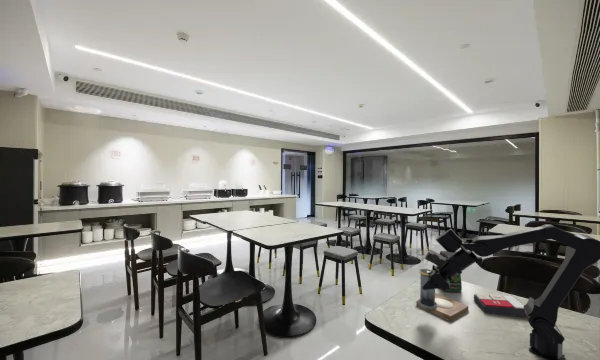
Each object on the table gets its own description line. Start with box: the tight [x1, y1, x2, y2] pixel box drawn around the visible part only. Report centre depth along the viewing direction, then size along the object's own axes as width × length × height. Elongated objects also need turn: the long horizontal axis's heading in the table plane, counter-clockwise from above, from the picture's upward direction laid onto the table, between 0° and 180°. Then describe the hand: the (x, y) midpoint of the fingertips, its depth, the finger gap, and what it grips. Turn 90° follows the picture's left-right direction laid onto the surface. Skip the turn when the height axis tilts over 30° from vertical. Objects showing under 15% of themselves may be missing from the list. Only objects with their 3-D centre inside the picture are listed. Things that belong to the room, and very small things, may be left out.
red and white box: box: [473, 293, 527, 319], centre depth 106 cm, size 11×4×15 cm
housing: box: [417, 268, 437, 310], centre depth 96 cm, size 6×6×13 cm
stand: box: [415, 292, 469, 322], centre depth 106 cm, size 14×14×2 cm
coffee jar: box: [439, 250, 463, 293], centre depth 124 cm, size 10×8×19 cm
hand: (423, 285), depth 97 cm, fingers closed on housing, 5 cm apart
